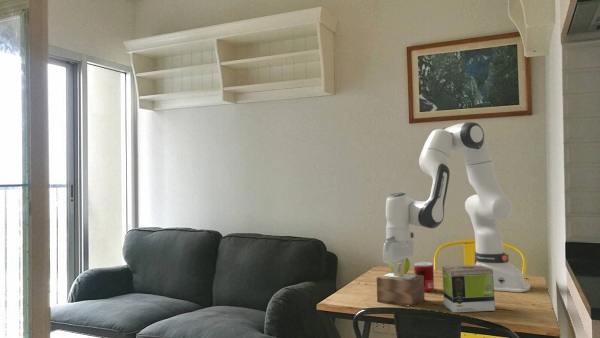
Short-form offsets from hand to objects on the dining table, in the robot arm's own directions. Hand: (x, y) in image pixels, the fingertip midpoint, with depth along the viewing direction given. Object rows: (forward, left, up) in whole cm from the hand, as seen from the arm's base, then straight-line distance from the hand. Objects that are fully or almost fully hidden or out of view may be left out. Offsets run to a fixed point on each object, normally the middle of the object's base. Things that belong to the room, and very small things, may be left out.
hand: (398, 271), depth 187 cm
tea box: (-25, -2, -11) cm, 28 cm away
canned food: (-1, -21, -11) cm, 24 cm away
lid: (0, 0, -4) cm, 4 cm away
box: (0, 0, -11) cm, 11 cm away
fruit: (+21, -45, -11) cm, 51 cm away
